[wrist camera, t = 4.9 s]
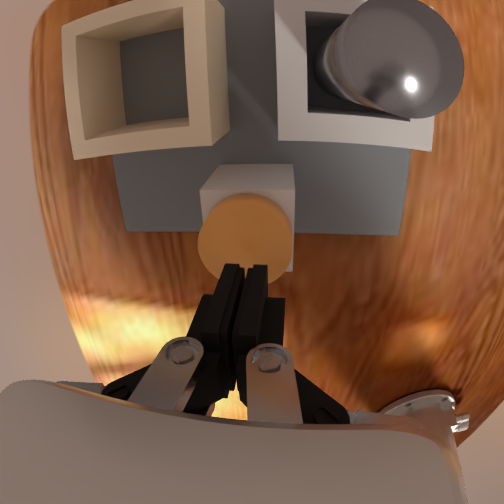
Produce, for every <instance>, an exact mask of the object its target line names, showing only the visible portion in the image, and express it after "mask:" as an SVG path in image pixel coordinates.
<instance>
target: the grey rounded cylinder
mask: <svg viewBox="0 0 504 504" xmlns="http://www.w3.org/2000/svg"><path fill="white" fill-rule="evenodd" d="M312 67H313V73H314V77H315V79H316V81H317V83H318V84H319V86H320V87H321V88H322V89H323V90H324V91H325V92H327V93H328V94H329V95H331V96H333V97H335V98H338V99H342V100H346V101H350V102H353V103H357V104H361V105H364V106H368V107H371V108H375V109H378V110H381V111H384V112H388V113H391V114H394V115H397V116H400V117H404V118H411V119H421V118H427V117H431V116H434V115H437V114H438V113H440V112H442V111H444V110H445V109H446V108H447V107H449V106H450V105H451V103H452V102H453V101H454V100H455V98H456V97H457V95H458V93H459V91H460V89H461V86H462V82H463V77H464V60H463V54H462V50H461V47H460V44H459V42H458V40H457V37H456V36H455V34H454V32H453V30H452V29H451V28H450V26H449V25H448V23H447V22H446V21H445V20H444V19H443V18H442V17H441V16H440V15H439V14H438V13H437V12H436V11H434V10H433V9H432V8H430V7H429V6H427V5H426V4H424V3H422V2H420V1H418V0H368V1H366V2H364V3H363V4H361V5H360V6H359V7H358V8H357V9H356V10H355V11H354V12H353V13H352V14H351V15H350V16H349V17H348V18H347V19H346V20H345V21H344V22H343V23H342V24H341V25H340V26H339V27H338V28H337V29H336V30H335V31H334V32H333V33H332V34H331V35H330V36H329V38H328V39H327V40H326V41H325V42H324V43H323V44H322V45H321V46H320V47H319V48H318V50H317V51H316V53H315V55H314V58H313V65H312Z"/></svg>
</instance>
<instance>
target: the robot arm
mask: <svg viewBox="0 0 504 504" xmlns="http://www.w3.org/2000/svg"><path fill="white" fill-rule="evenodd" d="M284 316H285V298H270V297H268V265H260V264H254V265H253V268H248V270H247V274H246V278H245V269H244V268H242V267H240V265H239V264H231V263H225V265H224V267H223V270H222V273H221V275H220V278H219V281H218V284H217V286H216V289H215V292H214V294H213V295H210V294H204V295H203V296H202V298H201V301H200V303H199V306H198V308H197V311H196V313H195V316H194V318H193V321H192V323H191V326H190V328H189V331H188V333H187V336H186V337H178V338H175V339H172V340H170V341H169V342H167V343H166V344H165V345H164V346H163V348H162V349H161V351H160V352H159V354H158V355H157V357H156V358H155V360H154V361H153V363H152V364H150V365H148V366H146V367H144V368H142V369H139V370H137V371H135V372H133V373H131V374H128V375H126V376H124V377H122V378H119V379H117V380H115V381H113V382H111V383H109V384H108V385H107V386H104V385H103V383H84V382H68V381H59V382H50V381H44V380H23V381H18V382H14V383H12V384H10V385H9V386H8V387H6V388H5V389H4V390H3V391H2V392H1V393H0V504H468V501H467V496H466V490H465V484H464V479H463V474H462V469H461V465H460V460H459V456H458V451H457V447H456V443H455V439H454V435H453V432H459V431H463V430H466V429H467V428H468V426H469V421H468V420H469V413H468V412H466V413H461V414H459V415H456V414H454V411H453V410H454V407H455V399H454V397H453V394H452V393H451V392H448V391H446V390H427V391H422V392H418V393H415V394H411V395H408V396H406V397H404V398H401V399H399V400H397V401H395V402H393V403H391V404H389V405H388V406H386V407H385V408H383V409H382V410H381V411H379V412H378V413H373V412H367V411H360V410H357V413H354V412H348V411H347V410H346V409H345V408H344V407H343V406H342V405H341V404H339V403H338V402H337V401H335V400H334V399H333V398H331V397H330V396H329V395H327V394H326V393H325V392H323V391H322V390H321V389H320V388H318V387H317V386H316V385H314V384H313V383H312V382H311V381H309V380H308V379H307V378H305V377H304V376H303V375H302V374H300V373H299V372H298V371H297V370H295V369H294V365H293V359H292V356H291V353H290V352H289V351H288V350H287V349H286V348H285V347H283V335H284ZM236 379H237V388H238V391H239V395H240V400H241V401H242V403H243V404H244V405H245V406H246V407H247V416H248V421H246V420H236V419H226V418H218V417H211V415H212V413H213V411H214V408H215V402H217V401H218V400H220V399H222V398H228V394H229V390H230V391H234V389H235V384H236Z"/></svg>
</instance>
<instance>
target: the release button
mask: <svg viewBox="0 0 504 504" xmlns="http://www.w3.org/2000/svg"><path fill="white" fill-rule="evenodd" d="M292 251H293V250H292V228H291V224H290V221H289V219H288V217H287V215H286V213H285V212H284V211H283V209H282V208H281V207H280V206H279V205H277V204H276V203H275V202H274V201H272V200H270V199H268V198H266V197H264V196H261V195H258V194H253V193H240V194H235V195H231V196H228V197H226V198H224V199H223V200H221V201H220V202H218V203H217V204H216V205H215V206H214V207H213V208H212V210H211V211H210V213H209V215H208V216H207V218H206V220H205V222H204V224H203V226H202V227H201V230H200V232H199V236H198V252H199V255H200V258H201V260H202V262H203V264H204V266H205V267H206V269H207V270H208V271H209V272H210V273H211V274H212V275H213V276H214V277H216V278H217V279H219V278H220V275H221V273H222V270H223V267H224V265H225V263H231V264H239V265H240V267H242V268H244V269H245V278H246V274H247V270H248V268H253V265H254V264H260V265H268V284H270V283H272V282H273V281H275V280H276V279H278V278H279V277H280V276H281V275H282V274H283V273H284V272H285V271H286V269H287V267H288V266H289V264H290V261H291V258H292Z"/></svg>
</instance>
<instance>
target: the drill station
mask: <svg viewBox="0 0 504 504" xmlns="http://www.w3.org/2000/svg"><path fill="white" fill-rule="evenodd" d="M366 1H368V0H132V1H129V2H125V3H122V4H119V5H116V6H112V7H109V8H106V9H103V10H101V11H98V12H95V13H92V14H89V15H87V16H84V17H82V18H79V19H77V20H74V21H72V22H69V23H67V24H65V25H62V26H61V36H62V65H63V80H64V92H65V102H66V111H67V119H68V126H69V133H70V140H71V146H72V152H73V158H74V160H79V159H85V158H91V157H98V156H105V155H112V160H113V166H114V172H115V178H116V183H117V189H118V194H119V199H120V204H121V209H122V214H123V219H124V223H125V228H126V232H200V230H201V227H202V226H203V224H204V222H205V220H206V218H207V216H208V215H209V213H210V211H211V210H212V208H213V207H214V206H215V205H216V204H217V203H218V202H220V201H221V200H223V199H224V198H226V197H228V196H231V195H235V194H240V193H253V194H258V195H261V196H264V197H266V198H268V199H270V200H272V201H274V202H275V203H276V204H277V205H279V206H280V207H281V208H282V209H283V211H284V212H285V213H286V215H287V217H288V219H289V221H290V224H291V228H292V250H294V233H317V234H354V235H385V236H399V230H400V225H401V219H402V214H403V208H404V201H405V195H406V188H407V181H408V173H409V165H410V156H411V149H416V150H424V151H431V150H432V140H433V129H434V116H435V115H434V116H431V117H427V118H421V119H411V118H404V117H400V116H397V115H394V114H391V113H388V112H384V111H381V110H378V109H375V108H371V107H368V106H364V105H361V104H357V103H353V102H350V101H346V100H342V99H338V98H335V97H333V96H331V95H329V94H328V93H327V92H325V91H324V90H323V89H322V88H321V87H320V86H319V84H318V83H317V81H316V79H315V77H314V73H313V67H312V65H313V58H314V55H315V53H316V51H317V50H318V48H319V47H320V46H321V45H322V44H323V43H324V42H325V41H326V40H327V39H328V38H329V36H330V35H331V34H332V33H333V32H334V31H335V30H336V29H337V28H338V27H339V26H340V25H341V24H342V23H343V22H344V21H345V20H346V19H347V18H348V17H349V16H350V15H351V14H352V13H353V12H354V11H355V10H356V9H357V8H358V7H359V6H360V5H361V4H363V3H364V2H366ZM427 6H428V5H427ZM429 7H430V8H432V9H433V7H431V6H429ZM433 10H434V9H433ZM285 272H293V251H292V258H291V261H290V264H289V266H288V267H287V269H286V271H285Z"/></svg>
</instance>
